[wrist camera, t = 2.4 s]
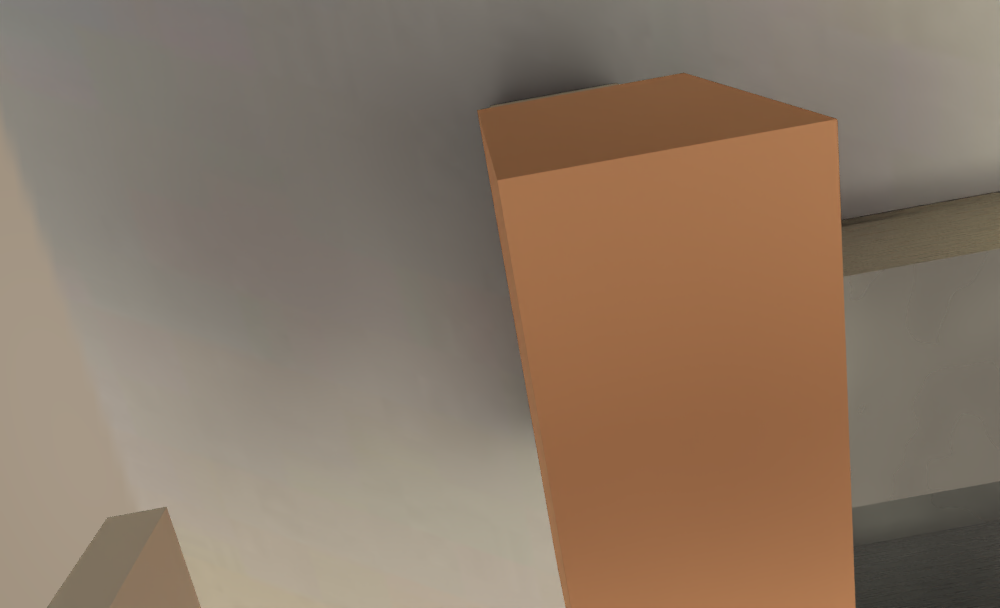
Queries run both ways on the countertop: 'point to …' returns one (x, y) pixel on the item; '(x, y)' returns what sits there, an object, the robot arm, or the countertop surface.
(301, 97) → the countertop surface
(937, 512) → the grey block fixture
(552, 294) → the orange block
